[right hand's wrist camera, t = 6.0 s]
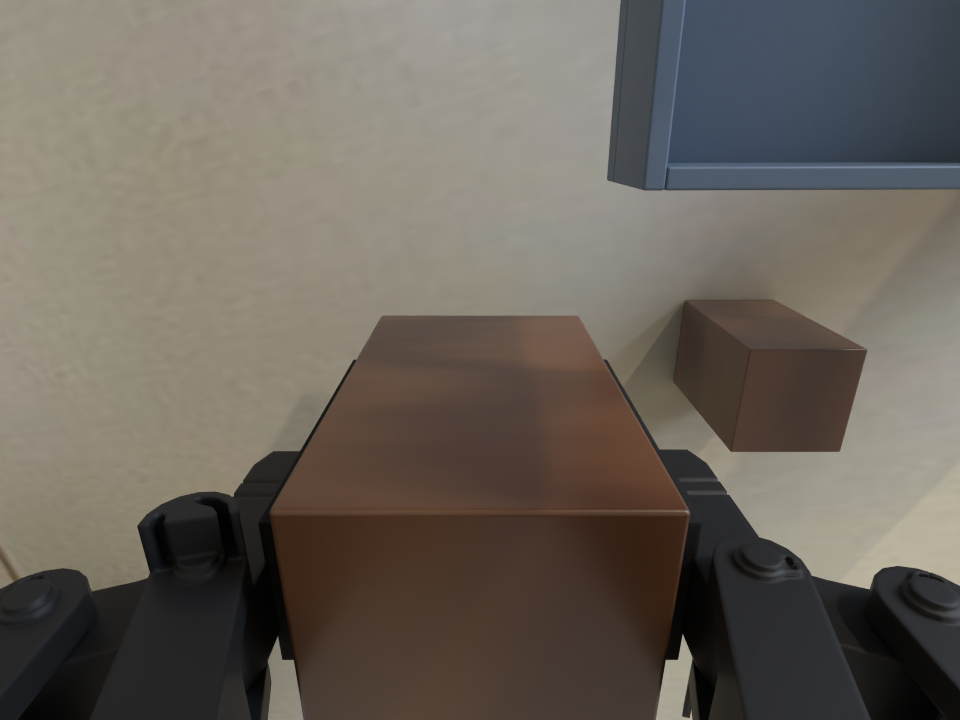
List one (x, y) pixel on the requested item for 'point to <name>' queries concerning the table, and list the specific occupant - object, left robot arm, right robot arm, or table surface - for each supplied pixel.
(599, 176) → the table surface
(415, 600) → the walnut block
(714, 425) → the walnut block
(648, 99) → the tray
